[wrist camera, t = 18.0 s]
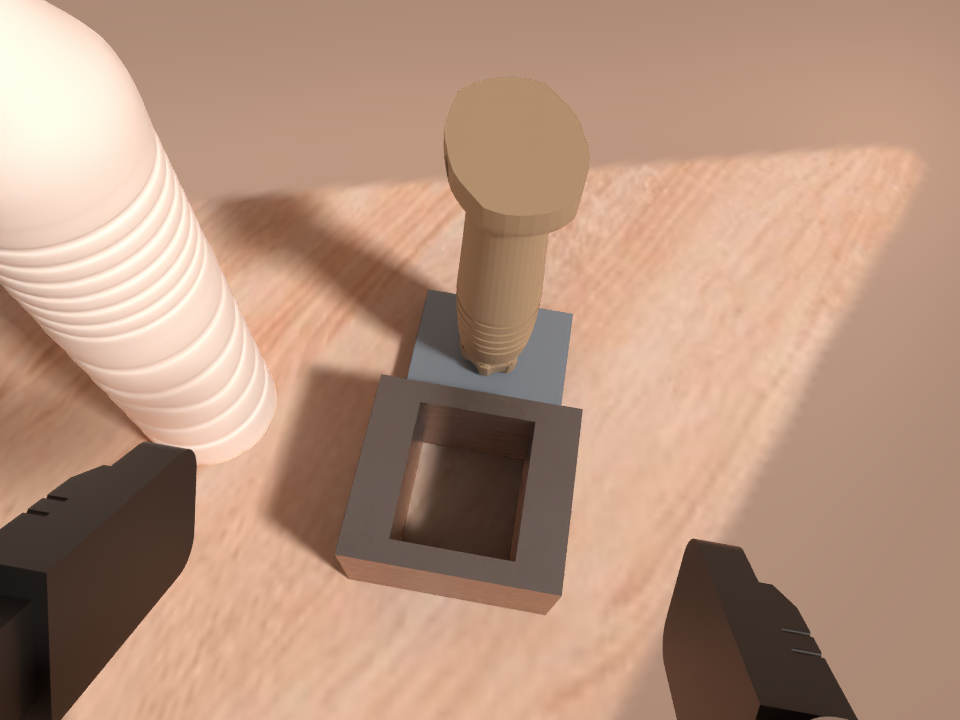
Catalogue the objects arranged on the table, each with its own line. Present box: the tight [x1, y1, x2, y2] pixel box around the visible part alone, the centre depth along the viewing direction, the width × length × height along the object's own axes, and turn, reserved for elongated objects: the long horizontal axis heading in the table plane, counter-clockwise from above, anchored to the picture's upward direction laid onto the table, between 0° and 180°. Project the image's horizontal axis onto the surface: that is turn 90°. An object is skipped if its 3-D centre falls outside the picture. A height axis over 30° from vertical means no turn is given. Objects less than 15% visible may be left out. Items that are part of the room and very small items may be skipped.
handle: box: [444, 77, 590, 376], centre depth 32 cm, size 5×6×15 cm
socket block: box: [335, 374, 583, 615], centre depth 33 cm, size 9×8×5 cm
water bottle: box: [0, 0, 277, 465], centre depth 27 cm, size 9×6×25 cm
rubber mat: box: [407, 290, 573, 405], centre depth 39 cm, size 8×6×1 cm
